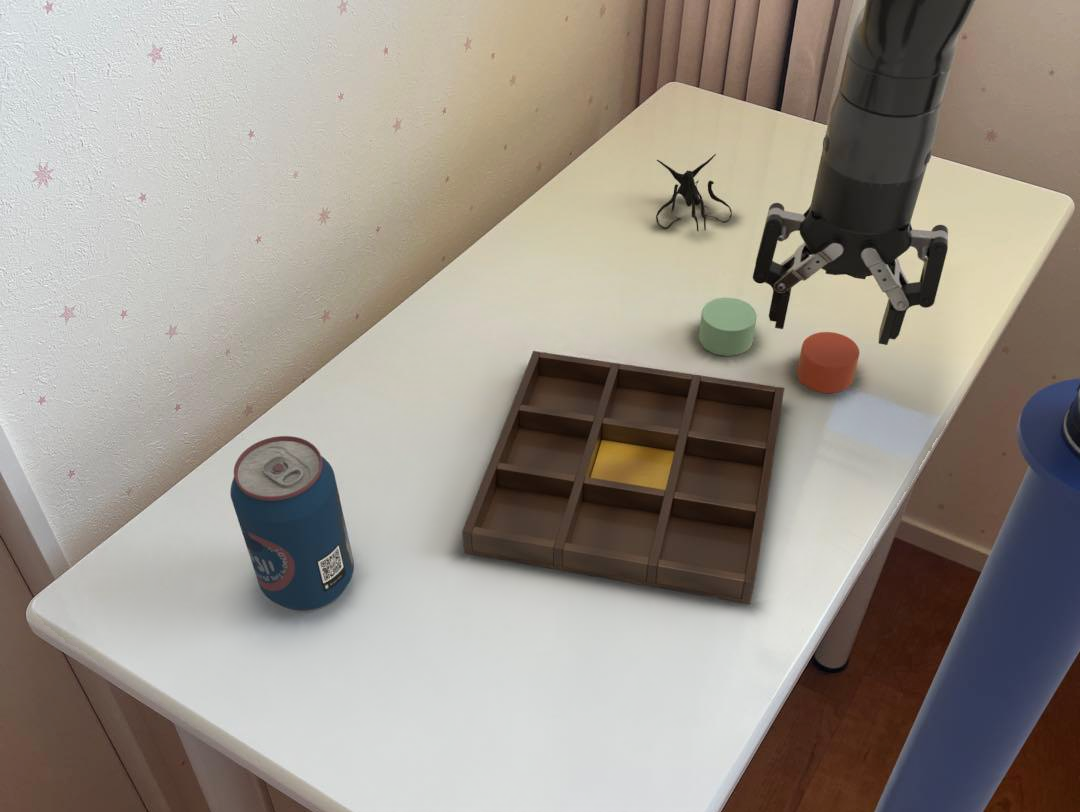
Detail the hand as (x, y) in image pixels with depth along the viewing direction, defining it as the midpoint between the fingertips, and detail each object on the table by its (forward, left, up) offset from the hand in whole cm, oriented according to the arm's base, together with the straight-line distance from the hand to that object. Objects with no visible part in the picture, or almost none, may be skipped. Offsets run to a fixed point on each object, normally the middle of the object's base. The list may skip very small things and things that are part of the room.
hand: (830, 330), depth 92 cm
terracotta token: (0, 0, -5) cm, 5 cm away
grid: (+14, +16, -5) cm, 22 cm away
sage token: (+9, -3, -5) cm, 10 cm away
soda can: (+35, +32, -5) cm, 47 cm away
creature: (+15, -22, -5) cm, 27 cm away
